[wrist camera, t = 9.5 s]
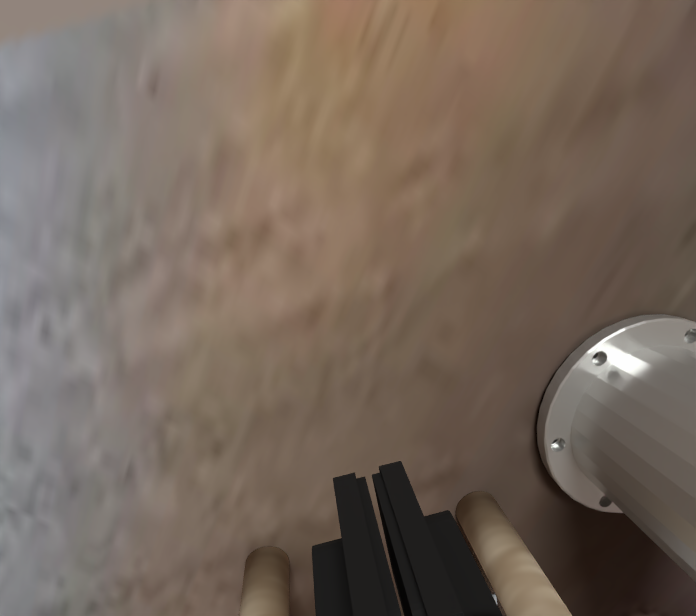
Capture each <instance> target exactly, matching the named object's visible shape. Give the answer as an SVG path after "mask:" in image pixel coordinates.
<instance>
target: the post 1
mask: <svg viewBox="0 0 696 616" xmlns="http://www.w3.org/2000/svg"><path fill="white" fill-rule="evenodd" d="M239 616H289V558H288V556H287V554H286V553H285V552H284V551H283V550H281V549H279V548H276V547H271V546H267V547H261V548H259V549H256V550H255V551H253V552H252V553H251V554H250V555H249V556H248V558H247V560H246V563H245V571H244V579H243V588H242V596H241V604H240V613H239Z"/></svg>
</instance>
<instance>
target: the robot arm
mask: <svg viewBox="0 0 696 616" xmlns="http://www.w3.org/2000/svg"><path fill="white" fill-rule="evenodd" d="M537 443H538V448H539V452H540V456H541V459H542V462H543V464H544V466H545V468H546V469H547V471H548V473H549V475H550V476H551V477H552V478H553V480H554V481H555V482H556V483H557V484H558V485H559V487H560V488H561V489H562V490H563V491H564V492H565V493H567V494H568V495H569V496H570V497H571V498H572V499H573V500H575V501H577V502H579V503H581V504H582V505H584V506H586V507H588V508H591V509H595V510H598V511H602V512H612V513H624V514H625V515H626V516H627V517H628V518H630V519H631V520H632V521H633V522H634V523H635V524H636V525H637V526H638V527H639V528H640V529H641V530H642V531H643V532H644V533H645V534H646V535H647V536H648V537H649V538H650V539H651V540H652V541H653V542H654V543H655V544H656V545H658V546H659V547H660V548H661V549H662V550H663V551H664V552H665V553H666V554H667V555H668V556H669V557H670V558H671V559H672V560H673V561H674V562H675V563H676V564H677V565H678V566H679V567H680V568H681V569H682V570H683V571H685V572H686V573H687V574H688V575H689V576H690V577H691V578H692V579H693V580H694V581H695V582H696V322H694V321H691V320H688V319H684V318H681V317H677V316H670V315H664V314H655V315H641V316H637V317H633V318H629V319H625V320H622V321H620V322H617V323H615V324H613V325H610V326H608V327H606V328H604V329H602V330H601V331H599V332H598V333H596V334H595V335H593V336H591V337H590V338H588V339H587V340H586V341H584V342H583V343H582V344H581V345H580V346H579V347H578V348H577V349H576V350H575V351H573V352H572V353H571V354H570V355H569V357H568V358H567V359H566V360H565V362H564V363H563V364H562V365H561V367H560V368H559V369H558V370H557V372H556V373H555V375H554V377H553V379H552V380H551V382H550V384H549V386H548V388H547V389H546V392H545V395H544V398H543V401H542V403H541V406H540V410H539V416H538V423H537ZM379 471H380V473H377V474H373V475H372V478H373V483H374V488H375V492H376V497H377V502H378V506H379V511H380V516H381V520H382V525H383V530H384V534H385V539H386V544H387V548H388V553H389V558H390V562H391V567H392V571H393V575H394V579H395V583H396V586H397V590H398V594H399V597H400V601H401V605H402V609H403V612H404V616H502V614H501V612H500V610H499V608H498V606H497V604H496V602H495V600H494V598H493V596H492V594H491V592H490V590H489V588H488V586H487V584H486V582H485V580H484V578H483V576H482V574H481V572H480V570H479V568H478V566H477V564H476V562H475V560H474V558H473V556H472V554H471V552H470V550H469V548H468V546H467V544H466V542H465V540H464V538H463V536H462V534H461V532H460V530H459V528H458V526H457V524H456V522H455V520H454V518H453V516H452V514H451V513H450V511H448V510H447V511H443V512H439V513H436V514H432V515H428V516H423V513H422V511H421V508H420V506H419V503H418V501H417V499H416V496H415V494H414V491H413V489H412V486H411V484H410V482H409V479H408V477H407V474H406V472H405V469H404V467H403V465H402V462H401V461H398V462H394V463H390V464H386V465H382V466H379ZM333 483H334V489H335V496H336V503H337V509H338V516H339V523H340V529H341V536H342V538H341V539H337V540H333V541H329V542H326V543H322V544H318V545H314V546H312V560H313V576H314V593H315V609H316V616H401V612H400V608H399V604H398V600H397V597H396V593H395V589H394V585H393V581H392V578H391V574H390V570H389V566H388V562H387V559H386V555H385V551H384V547H383V543H382V540H381V536H380V532H379V528H378V524H377V521H376V517H375V513H374V509H373V505H372V501H371V498H370V494H369V490H368V486H367V482H366V479H365V477H361V478H357V479H356V476H355V473H351V474H347V475H343V476H339V477H335V478H333Z"/></svg>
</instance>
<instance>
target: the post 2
mask: <svg viewBox="0 0 696 616" xmlns="http://www.w3.org/2000/svg"><path fill="white" fill-rule="evenodd" d="M456 516H457V519H458V521H459V523H460V525H461V527H462V529H463V531H464V533H465V535H466V536H467V538H468V540H469V542H470V544H471V546H472V548H473V550H474V552H475V554H476V556H477V558H478V560H479V562H480V564H481V566H482V568H483V570H484V572H485V574H486V576H487V578H488V580H489V581H490V583H491V585H492V587H493V589H494V591H495V593H496V595H497V597H498V599H499V601H500V603H501V605H502V607H503V609H504V611H505V613H506V615H507V616H572V615H571V613H570V612H569V610H568V609H567V607H566V606H565V604H564V603H563V601H562V600H561V598H560V597H559V595H558V594H557V592H556V591H555V589H554V588H553V586H552V585H551V583H550V582H549V580H548V578H547V577H546V575H545V574H544V572H543V571H542V569H541V568H540V566H539V565H538V563H537V562H536V560H535V559H534V557H533V556H532V554H531V553H530V551H529V550H528V548H527V547H526V545H525V544H524V542H523V541H522V539H521V538H520V536H519V535H518V533H517V532H516V530H515V529H514V527H513V526H512V524H511V523H510V521H509V520H508V518H507V517H506V515H505V514H504V512H503V511H502V509H501V508H500V506H499V505H498V503H497V502H496V500H495V499H494V497H493V496H492V495H491V494H489V493H487V492H484V491H475V492H472V493H469V494H467V495H466V496H464V497H463V498H462V499H461V500H460V502H459V503H458V505H457V508H456Z"/></svg>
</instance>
